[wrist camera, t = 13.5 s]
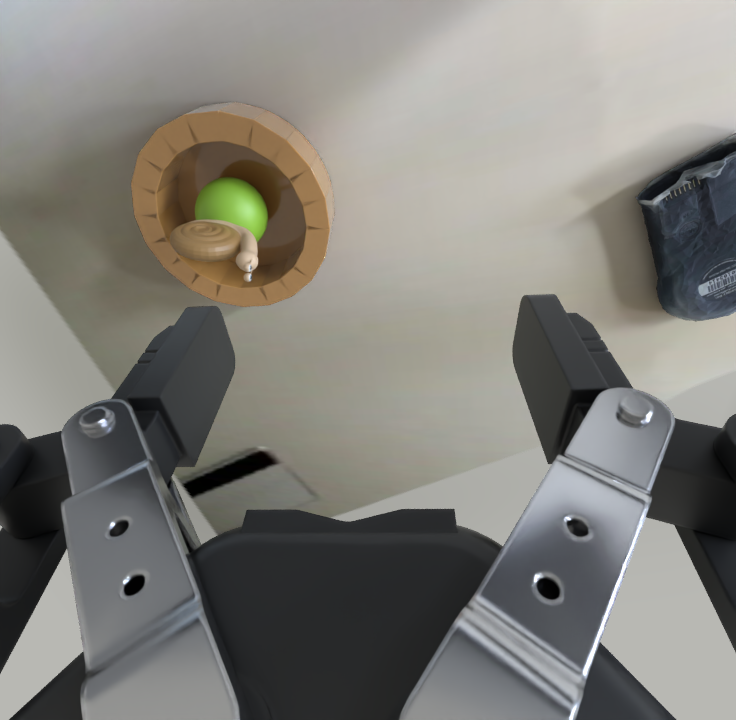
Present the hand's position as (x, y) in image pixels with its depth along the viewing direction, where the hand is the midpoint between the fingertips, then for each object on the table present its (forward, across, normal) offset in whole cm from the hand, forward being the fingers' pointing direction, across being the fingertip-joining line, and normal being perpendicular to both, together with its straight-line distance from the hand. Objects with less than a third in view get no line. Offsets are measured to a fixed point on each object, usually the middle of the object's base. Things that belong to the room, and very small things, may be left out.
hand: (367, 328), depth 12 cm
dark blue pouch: (+27, -27, +10) cm, 39 cm away
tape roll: (+26, +11, +5) cm, 29 cm away
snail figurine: (+26, +11, +5) cm, 29 cm away
